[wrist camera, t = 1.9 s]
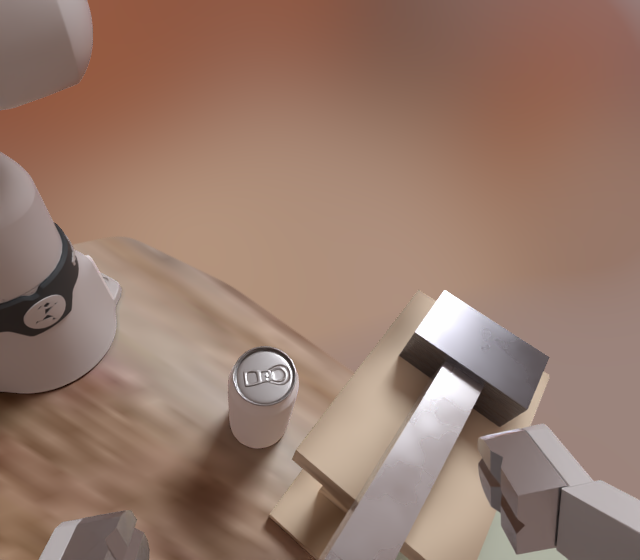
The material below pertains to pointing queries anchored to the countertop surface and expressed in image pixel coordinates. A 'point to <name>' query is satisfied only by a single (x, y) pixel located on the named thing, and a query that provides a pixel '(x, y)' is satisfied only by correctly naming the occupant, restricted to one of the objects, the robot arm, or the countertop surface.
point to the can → (261, 396)
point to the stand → (370, 444)
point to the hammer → (437, 421)
